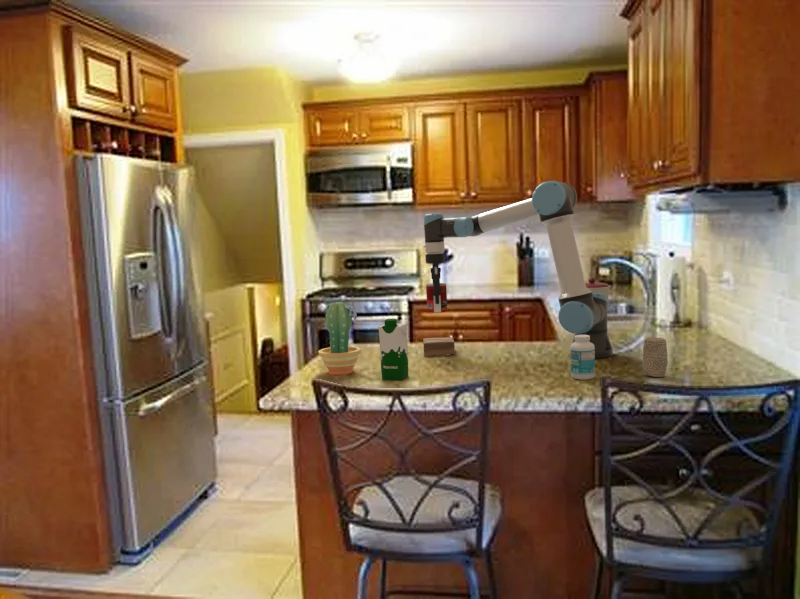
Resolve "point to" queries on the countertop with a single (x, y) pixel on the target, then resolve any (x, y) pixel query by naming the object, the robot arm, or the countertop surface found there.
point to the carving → (655, 357)
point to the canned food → (431, 299)
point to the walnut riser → (438, 346)
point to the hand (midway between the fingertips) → (437, 310)
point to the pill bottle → (582, 358)
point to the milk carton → (393, 350)
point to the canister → (598, 287)
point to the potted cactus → (340, 340)
